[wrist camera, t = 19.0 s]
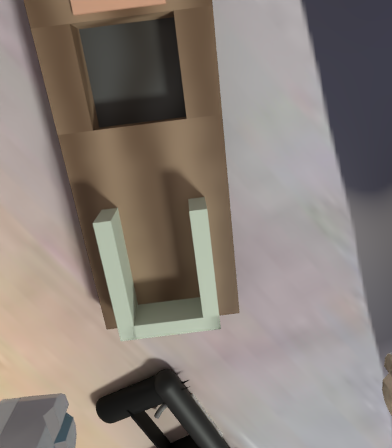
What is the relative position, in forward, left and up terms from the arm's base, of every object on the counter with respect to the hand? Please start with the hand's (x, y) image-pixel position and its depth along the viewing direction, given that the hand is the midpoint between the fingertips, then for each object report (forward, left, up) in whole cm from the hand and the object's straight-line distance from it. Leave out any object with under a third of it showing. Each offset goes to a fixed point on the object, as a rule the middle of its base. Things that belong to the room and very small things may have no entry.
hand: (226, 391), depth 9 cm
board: (-4, +3, -27) cm, 28 cm away
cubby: (-4, -8, -24) cm, 26 cm away
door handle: (-8, -35, -28) cm, 45 cm away
